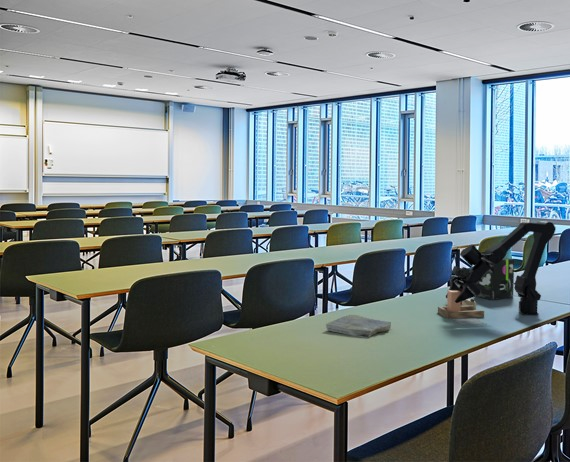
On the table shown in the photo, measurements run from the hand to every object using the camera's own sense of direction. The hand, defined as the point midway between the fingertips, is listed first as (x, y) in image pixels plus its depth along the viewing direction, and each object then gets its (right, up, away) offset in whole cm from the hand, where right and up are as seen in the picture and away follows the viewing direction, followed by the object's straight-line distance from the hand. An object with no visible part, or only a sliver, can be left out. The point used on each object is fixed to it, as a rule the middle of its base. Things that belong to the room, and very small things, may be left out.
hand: (450, 300), depth 246 cm
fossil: (-40, -10, -21) cm, 46 cm away
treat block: (+1, -6, +1) cm, 6 cm away
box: (+32, -3, +40) cm, 51 cm away
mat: (+4, -8, -10) cm, 14 cm away
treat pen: (+4, -6, +7) cm, 10 cm away
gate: (+12, -5, +14) cm, 19 cm away
